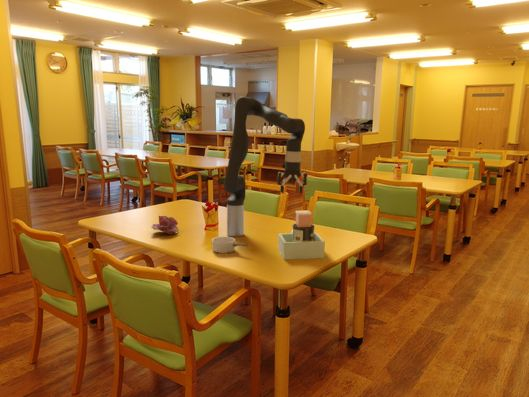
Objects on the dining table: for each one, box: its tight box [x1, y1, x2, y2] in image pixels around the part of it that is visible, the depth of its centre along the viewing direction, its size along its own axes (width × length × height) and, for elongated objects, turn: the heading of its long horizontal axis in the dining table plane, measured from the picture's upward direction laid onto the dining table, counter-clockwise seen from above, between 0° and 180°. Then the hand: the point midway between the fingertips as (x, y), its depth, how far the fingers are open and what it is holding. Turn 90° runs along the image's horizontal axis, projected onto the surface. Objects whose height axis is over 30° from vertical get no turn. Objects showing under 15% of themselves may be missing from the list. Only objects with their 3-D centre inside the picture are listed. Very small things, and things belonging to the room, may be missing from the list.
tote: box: [277, 232, 326, 260], centre depth 198 cm, size 19×15×8 cm
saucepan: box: [211, 236, 249, 254], centre depth 200 cm, size 12×20×6 cm, turn 56°
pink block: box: [294, 209, 313, 227], centre depth 195 cm, size 6×6×7 cm
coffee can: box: [292, 223, 315, 242], centre depth 197 cm, size 10×10×14 cm
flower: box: [151, 215, 179, 235], centre depth 231 cm, size 15×15×10 cm
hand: (291, 193), depth 203 cm, fingers open, 8 cm apart
